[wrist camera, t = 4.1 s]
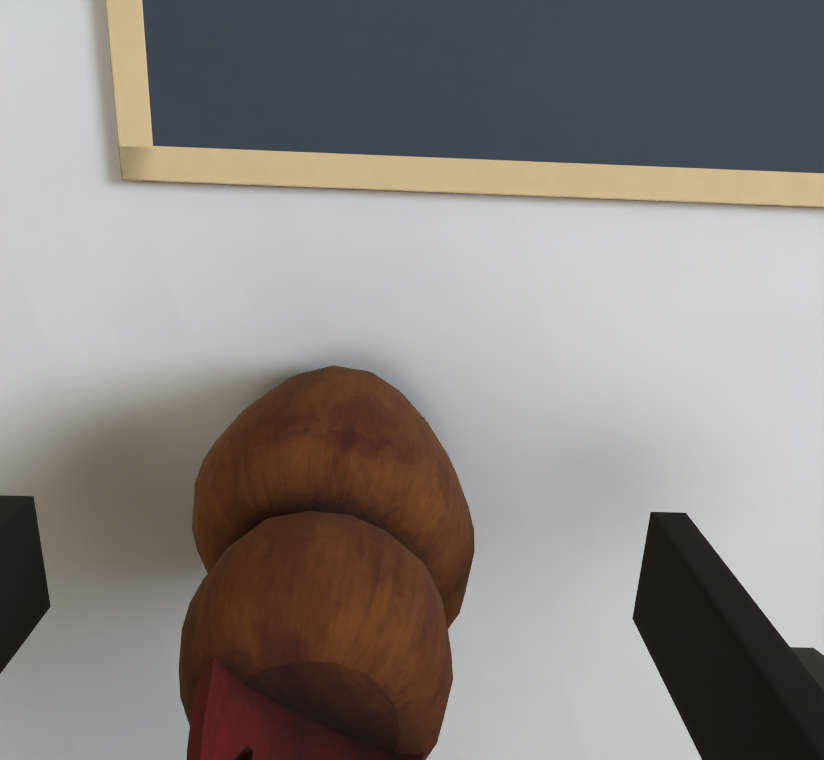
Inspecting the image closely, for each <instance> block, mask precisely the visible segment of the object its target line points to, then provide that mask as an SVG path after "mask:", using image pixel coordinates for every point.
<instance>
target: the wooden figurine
mask: <svg viewBox="0 0 824 760" xmlns="http://www.w3.org/2000/svg"><path fill="white" fill-rule="evenodd" d="M192 530H193V534H194V539H195V543H196V547H197V550H198V553H199V555H200V557H201V559H202V562H203V564H204V566H205V568H206V570H207V573H208V574H207V576H206V577H205V578H204V580H203V581H202V583H201V584H200V586H199V588H198V590H197V591H196V593H195V595H194V597H193V598H192V600H191V602H190V604H189V608H188V611H187V614H186V618H185V621H184V624H183V628H182V635H181V647H180V660H179V679H180V697H181V700H182V703H183V706H184V709H185V712H186V716H187V719H188V722H189V725H190V731H189V740H188V748H187V760H426V758H427V757H428V755H429V754H430V752H431V751H432V749H433V748H434V747H435V745H436V744H437V741H438V737H439V733H440V730H441V726H442V722H443V718H444V714H445V710H446V706H447V702H448V697H449V693H450V689H451V685H452V681H453V674H452V657H451V649H450V642H449V636H448V628H449V627H450V625H451V624H452V623H453V621H454V620H455V618H456V617H457V616H458V614H459V613H460V609H461V606H462V602H463V599H464V595H465V591H466V587H467V582H468V578H469V573H470V569H471V564H472V560H473V555H474V528H473V524H472V520H471V516H470V512H469V508H468V505H467V502H466V499H465V496H464V494H463V491H462V488H461V485H460V483H459V480H458V477H457V474H456V472H455V469H454V467H453V465H452V463H451V461H450V459H449V457H448V455H447V453H446V451H445V450H444V448H443V447H442V445H441V443H440V442H439V440H438V439H437V437H436V435H435V434H434V432H433V431H432V429H431V428H430V426H429V424H428V423H427V422H426V421H425V419H424V418H423V417H422V416H421V415H420V413H419V412H418V411H417V410H416V409H415V408H414V407H413V405H412V404H411V403H410V402H409V401H408V400H407V399H406V397H405V396H404V395H403V394H402V393H401V392H400V391H399V390H397V389H396V388H394V387H393V386H391V385H390V384H388V383H387V382H385V381H384V380H382V379H380V378H379V377H377V376H376V375H374V374H373V373H371V372H367V371H362V370H356V369H350V368H344V367H338V366H329V367H325V368H322V369H318V370H314V371H310V372H306V373H302V374H298V375H296V376H294V377H291V378H289V379H288V380H286V381H285V382H283V383H282V384H280V385H279V386H277V387H276V388H275V389H273V390H272V391H270V392H269V393H267V394H266V395H264V396H263V397H262V398H260V399H259V400H257V401H256V402H255V403H253V404H252V405H251V406H249V407H248V408H247V409H245V410H244V411H243V412H242V413H241V414H240V415H239V416H238V417H237V419H236V420H235V421H234V422H233V423H232V424H231V425H230V426H229V427H228V429H227V430H226V431H225V432H224V433H223V434H222V435H221V436H220V437H219V439H218V440H217V441H216V442H215V443H214V445H213V446H212V448H211V450H210V451H209V453H208V454H207V456H206V457H205V459H204V460H203V463H202V466H201V468H200V471H199V474H198V477H197V479H196V482H195V493H194V508H193V522H192Z"/></svg>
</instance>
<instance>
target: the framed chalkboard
mask: <svg viewBox="0 0 824 760" xmlns="http://www.w3.org/2000/svg"><path fill="white" fill-rule="evenodd" d="M106 10H107V21H108V32H109V43H110V55H111V66H112V77H113V88H114V99H115V110H116V122H117V133H118V144H119V155H120V166H121V177H122V180H132V181H157V182H183V183H209V184H235V185H260V186H286V187H312V188H338V189H364V190H389V191H415V192H441V193H467V194H492V195H518V196H544V197H570V198H595V199H621V200H647V201H673V202H698V203H724V204H750V205H776V206H801V207H824V0H106Z"/></svg>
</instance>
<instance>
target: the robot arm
mask: <svg viewBox="0 0 824 760" xmlns="http://www.w3.org/2000/svg"><path fill="white" fill-rule="evenodd" d="M49 608H50V601H49V594H48V588H47V581H46V575H45V568H44V562H43V555H42V549H41V542H40V536H39V529H38V523H37V516H36V510H35V503H34V496H0V673H1V672H2V671H3V669H4V668H5V667H6V665H7V664H8V663H9V661H10V660H11V659H12V657H13V656H14V655H15V653H16V652H17V651H18V649H19V648H20V647H21V645H22V644H23V643H24V641H25V640H26V639H27V637H28V636H29V635H30V633H31V632H32V631H33V629H34V628H35V626H36V625H37V624H38V622H39V621H40V620H41V618H42V617H43V616H44V614H45V613H46V612H47V610H48V609H49ZM633 620H634V622H635V624H636V626H637V628H638V630H639V632H640V634H641V637H642V639H643V641H644V643H645V645H646V647H647V649H648V651H649V653H650V655H651V657H652V659H653V661H654V663H655V665H656V667H657V669H658V671H659V673H660V675H661V677H662V679H663V681H664V683H665V685H666V687H667V689H668V691H669V693H670V695H671V697H672V699H673V702H674V704H675V706H676V708H677V710H678V712H679V714H680V716H681V718H682V720H683V722H684V724H685V726H686V728H687V730H688V732H689V734H690V736H691V738H692V740H693V742H694V744H695V746H696V748H697V750H698V752H699V754H700V756H701V758H702V760H824V655H822V654H821V653H820V652H818V651H817V650H815V649H814V648H792V647H789V646H788V644H787V643H786V642H785V640H784V639H783V638H782V636H781V635H780V634H779V633H778V631H777V630H776V629H775V627H774V626H773V625H772V624H771V622H770V621H769V620H768V618H767V617H766V616H765V615H764V613H763V612H762V611H761V609H760V608H759V607H758V606H757V604H756V603H755V602H754V600H753V599H752V598H751V596H750V595H749V594H748V593H747V591H746V590H745V589H744V587H743V586H742V585H741V584H740V582H739V581H738V580H737V578H736V577H735V576H734V575H733V573H732V572H731V571H730V569H729V568H728V567H727V565H726V564H725V563H724V562H723V560H722V559H721V558H720V556H719V555H718V554H717V553H716V551H715V550H714V549H713V547H712V546H711V545H710V544H709V542H708V541H707V540H706V538H705V537H704V536H703V535H702V533H701V532H700V531H699V529H698V528H697V527H696V525H695V524H694V523H693V522H692V520H691V519H690V518H689V516H688V515H687V514H686V513H669V512H651V514H650V520H649V526H648V531H647V537H646V543H645V549H644V555H643V561H642V567H641V572H640V578H639V584H638V590H637V596H636V602H635V607H634V613H633Z"/></svg>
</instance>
